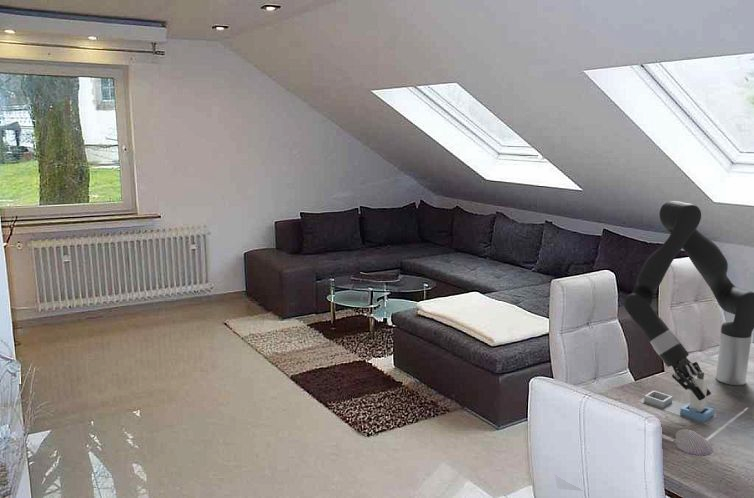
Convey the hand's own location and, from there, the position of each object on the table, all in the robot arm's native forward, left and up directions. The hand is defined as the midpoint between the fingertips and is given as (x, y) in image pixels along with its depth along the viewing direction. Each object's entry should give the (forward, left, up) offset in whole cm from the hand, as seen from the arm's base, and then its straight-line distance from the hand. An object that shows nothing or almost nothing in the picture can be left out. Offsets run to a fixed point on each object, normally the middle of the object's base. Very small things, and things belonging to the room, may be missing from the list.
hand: (705, 396), depth 187 cm
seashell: (+18, -9, -8) cm, 21 cm away
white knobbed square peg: (-1, -2, -4) cm, 5 cm away
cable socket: (-5, -6, -7) cm, 11 cm away
